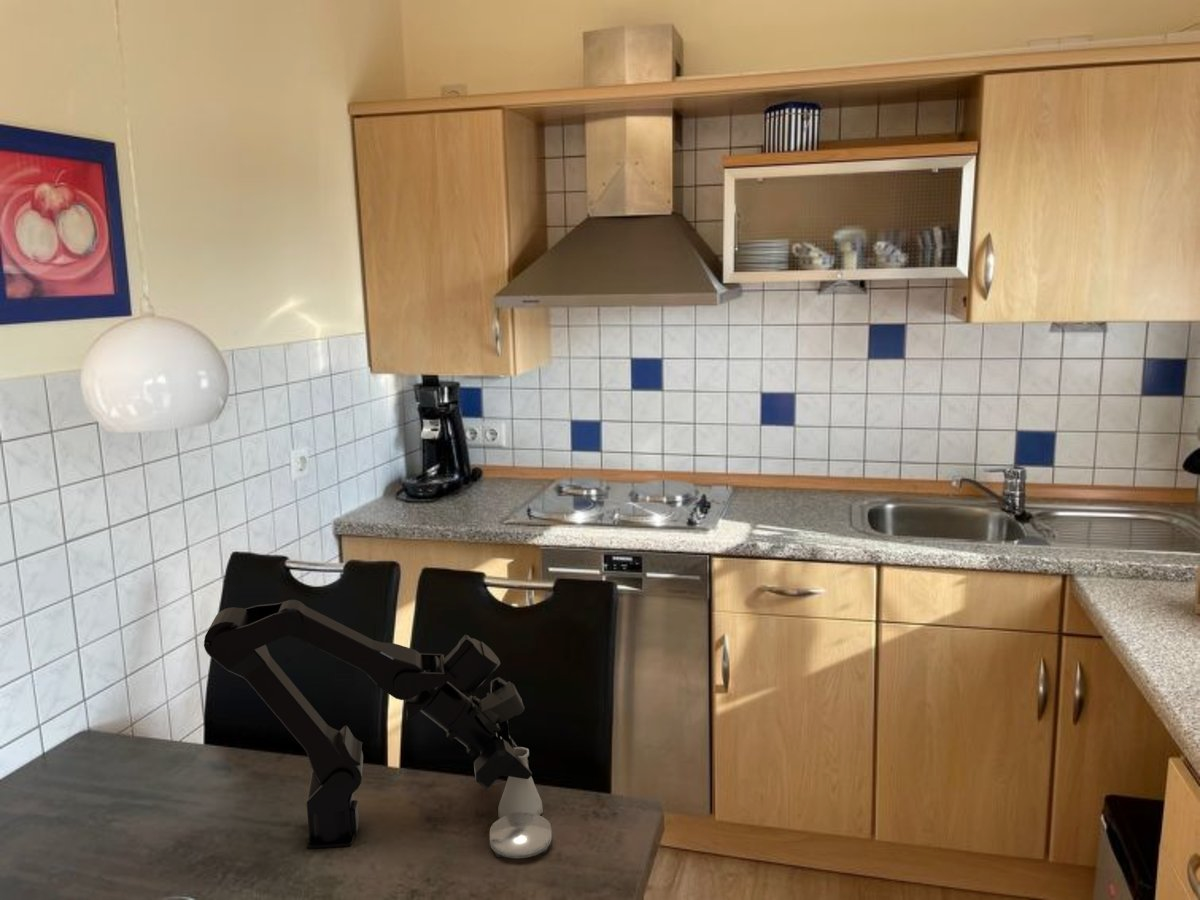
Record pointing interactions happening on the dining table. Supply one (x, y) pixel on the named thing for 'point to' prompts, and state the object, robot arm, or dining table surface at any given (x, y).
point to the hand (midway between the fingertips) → (528, 770)
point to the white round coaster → (520, 835)
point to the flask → (520, 792)
